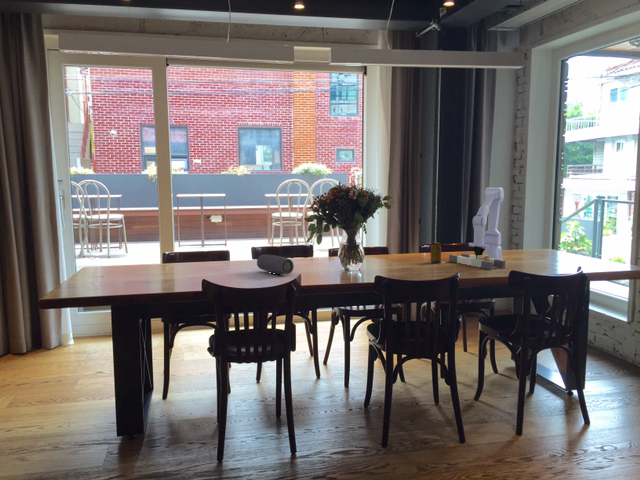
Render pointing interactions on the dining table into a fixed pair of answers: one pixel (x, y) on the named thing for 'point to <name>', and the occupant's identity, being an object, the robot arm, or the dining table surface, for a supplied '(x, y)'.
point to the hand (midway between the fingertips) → (478, 259)
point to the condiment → (436, 253)
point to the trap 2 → (496, 267)
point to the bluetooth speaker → (275, 264)
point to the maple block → (483, 257)
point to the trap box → (476, 261)
